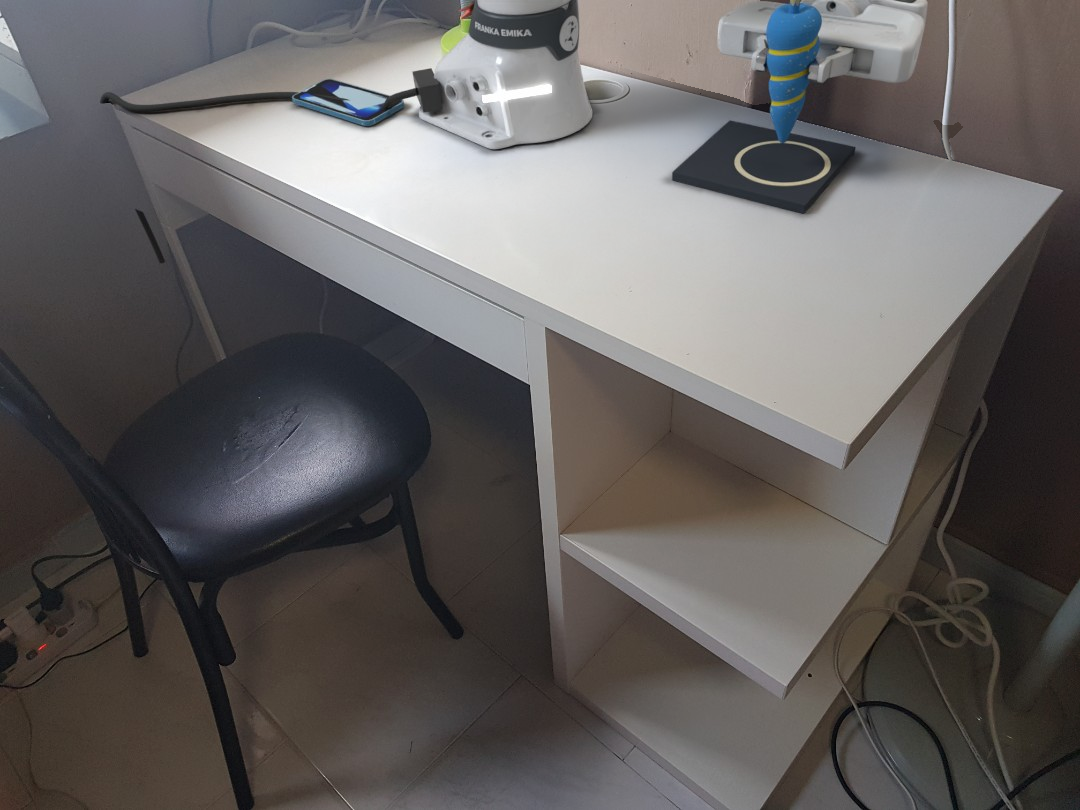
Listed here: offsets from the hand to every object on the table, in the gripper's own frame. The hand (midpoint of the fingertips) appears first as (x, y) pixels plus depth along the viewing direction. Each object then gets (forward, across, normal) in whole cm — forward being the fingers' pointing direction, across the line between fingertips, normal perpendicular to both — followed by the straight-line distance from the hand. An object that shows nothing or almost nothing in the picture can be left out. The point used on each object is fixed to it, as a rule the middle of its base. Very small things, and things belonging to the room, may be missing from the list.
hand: (786, 69), depth 82 cm
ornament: (-1, 0, +8) cm, 8 cm away
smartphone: (+7, -57, +12) cm, 59 cm away
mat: (-2, -2, +12) cm, 12 cm away
